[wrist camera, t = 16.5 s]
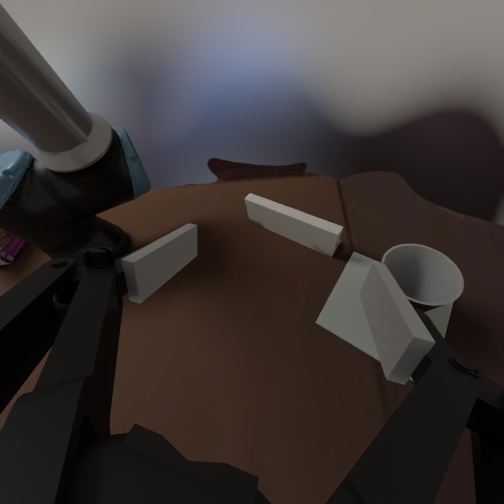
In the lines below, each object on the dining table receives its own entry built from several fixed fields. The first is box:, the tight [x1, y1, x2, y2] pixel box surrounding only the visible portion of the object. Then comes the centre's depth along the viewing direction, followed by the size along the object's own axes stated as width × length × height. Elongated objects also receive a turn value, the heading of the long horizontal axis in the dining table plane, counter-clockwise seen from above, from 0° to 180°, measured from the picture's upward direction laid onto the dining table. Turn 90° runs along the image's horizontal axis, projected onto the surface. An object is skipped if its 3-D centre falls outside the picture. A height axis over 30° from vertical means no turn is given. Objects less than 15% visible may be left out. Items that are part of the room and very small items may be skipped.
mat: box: [315, 252, 454, 381], centre depth 34 cm, size 16×16×1 cm
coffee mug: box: [381, 244, 464, 312], centre depth 29 cm, size 12×9×10 cm
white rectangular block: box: [245, 193, 343, 257], centre depth 43 cm, size 20×4×7 cm, turn 54°
